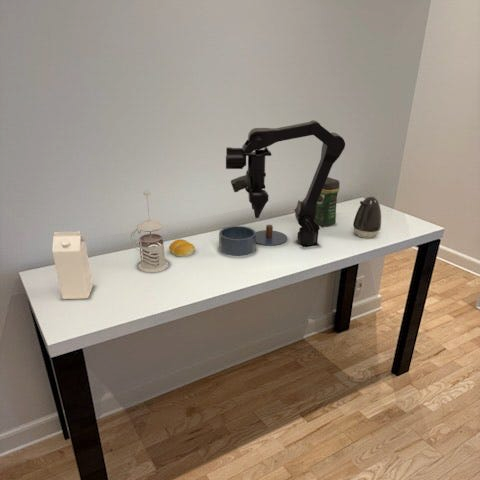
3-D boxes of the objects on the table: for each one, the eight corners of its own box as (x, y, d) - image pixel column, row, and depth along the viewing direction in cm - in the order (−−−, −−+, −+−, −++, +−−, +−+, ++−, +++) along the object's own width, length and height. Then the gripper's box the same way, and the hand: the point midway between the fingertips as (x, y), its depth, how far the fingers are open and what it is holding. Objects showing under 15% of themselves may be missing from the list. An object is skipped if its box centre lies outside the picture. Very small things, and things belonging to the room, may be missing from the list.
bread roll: (180, 259, 150) (179, 248, 148) (166, 251, 156) (165, 240, 154) (200, 253, 154) (199, 242, 152) (185, 244, 160) (185, 234, 158)
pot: (248, 240, 164) (248, 224, 161) (260, 254, 154) (261, 237, 151) (215, 245, 161) (214, 228, 158) (225, 259, 150) (225, 241, 147)
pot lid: (278, 231, 173) (279, 217, 170) (293, 244, 162) (294, 230, 159) (245, 235, 169) (245, 221, 166) (258, 249, 158) (258, 234, 155)
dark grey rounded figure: (345, 233, 172) (351, 195, 164) (365, 228, 177) (371, 191, 169) (364, 242, 164) (371, 203, 157) (384, 237, 169) (392, 198, 161)
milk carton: (68, 287, 132) (56, 227, 123) (93, 286, 133) (82, 227, 123) (62, 299, 126) (49, 237, 117) (88, 298, 127) (77, 237, 117)
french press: (160, 274, 140) (153, 197, 128) (127, 268, 143) (118, 193, 131) (173, 261, 149) (168, 187, 136) (142, 256, 151) (134, 184, 139)
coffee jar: (338, 224, 180) (344, 179, 171) (324, 228, 176) (329, 182, 167) (321, 217, 187) (326, 173, 178) (307, 220, 183) (311, 176, 174)
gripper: (230, 162, 156) (230, 205, 163) (234, 176, 139) (234, 223, 147) (262, 161, 156) (260, 204, 164) (269, 176, 140) (267, 222, 148)
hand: (255, 213), depth 156 cm, fingers open, 9 cm apart
